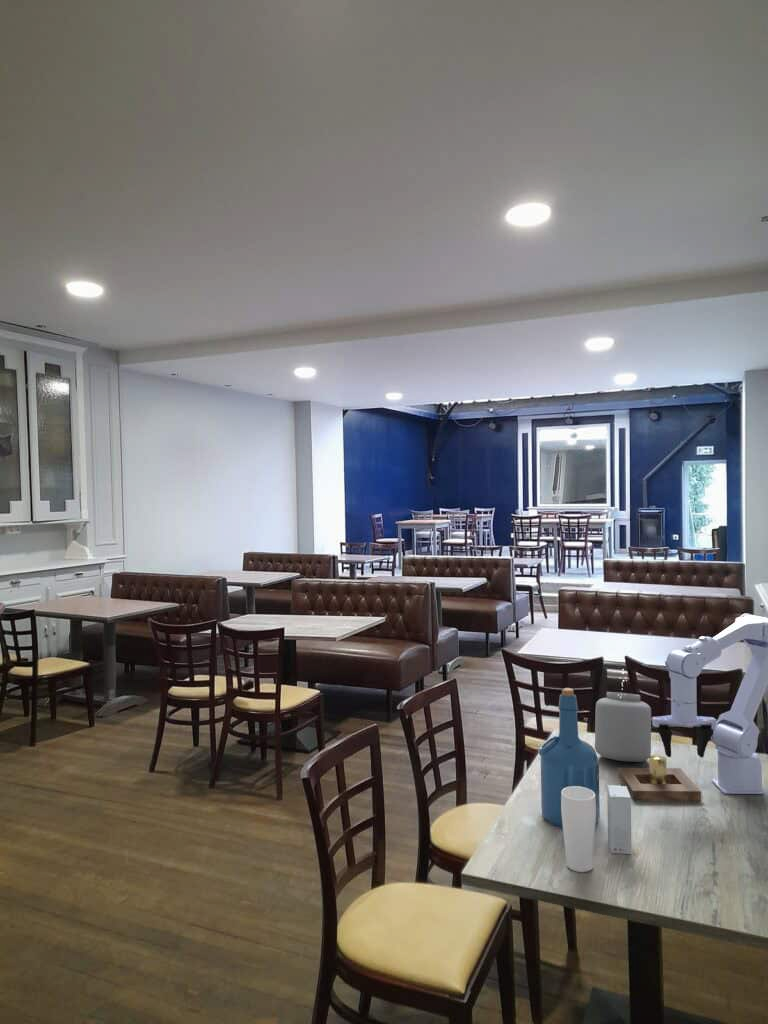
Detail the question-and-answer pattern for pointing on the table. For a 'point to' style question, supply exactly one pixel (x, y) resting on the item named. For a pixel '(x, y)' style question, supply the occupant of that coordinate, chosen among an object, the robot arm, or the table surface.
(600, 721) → the jar
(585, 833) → the drinking glass
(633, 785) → the jig plate
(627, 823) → the skincare box
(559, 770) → the wine bottle
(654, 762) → the brass peg
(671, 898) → the table surface
